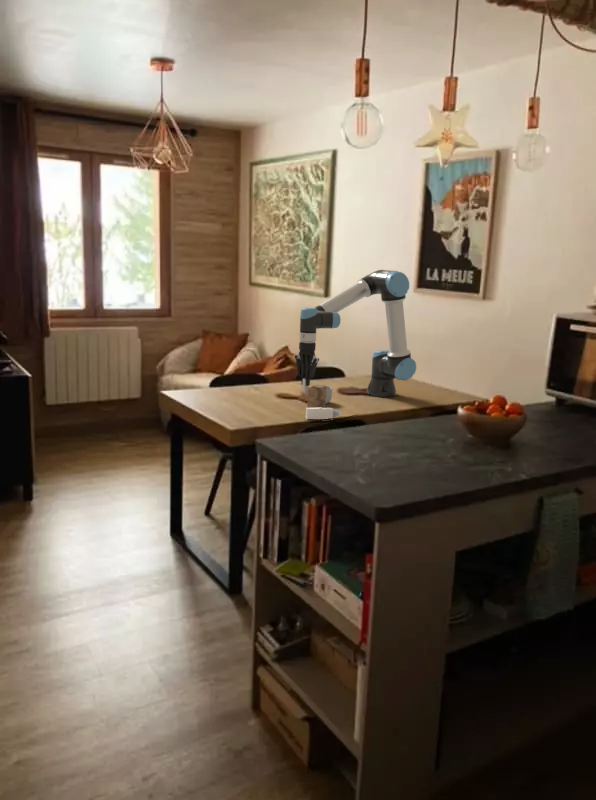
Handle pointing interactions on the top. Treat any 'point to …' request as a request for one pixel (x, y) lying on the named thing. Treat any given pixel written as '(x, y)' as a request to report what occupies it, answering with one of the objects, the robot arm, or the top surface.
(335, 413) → the felt mat
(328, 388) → the teacup
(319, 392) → the walnut slab
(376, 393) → the robot arm
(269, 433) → the top surface
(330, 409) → the napkin holder
